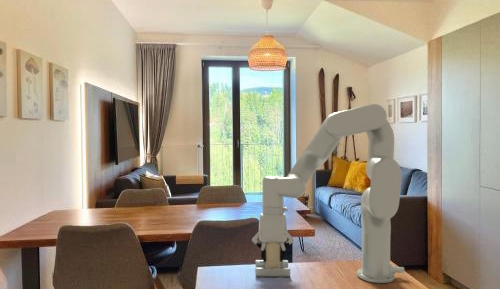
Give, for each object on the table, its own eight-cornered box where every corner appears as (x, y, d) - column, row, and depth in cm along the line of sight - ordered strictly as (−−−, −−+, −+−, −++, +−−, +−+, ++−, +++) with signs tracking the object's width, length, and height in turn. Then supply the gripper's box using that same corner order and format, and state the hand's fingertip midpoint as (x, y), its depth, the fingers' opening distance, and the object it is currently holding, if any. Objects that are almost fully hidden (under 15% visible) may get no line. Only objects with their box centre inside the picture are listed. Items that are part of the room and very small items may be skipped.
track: (287, 268, 140) (287, 260, 140) (290, 277, 131) (290, 268, 131) (255, 268, 141) (255, 260, 141) (255, 277, 132) (255, 268, 132)
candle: (279, 270, 133) (279, 241, 132) (264, 269, 134) (264, 241, 134) (281, 265, 138) (281, 237, 138) (266, 264, 139) (266, 237, 139)
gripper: (295, 208, 139) (295, 257, 140) (249, 208, 139) (249, 257, 140) (298, 212, 132) (298, 264, 132) (248, 212, 132) (248, 264, 132)
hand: (272, 260), depth 136 cm, fingers closed on candle, 5 cm apart
